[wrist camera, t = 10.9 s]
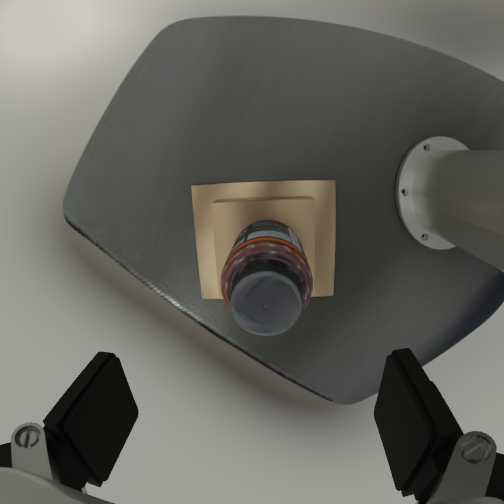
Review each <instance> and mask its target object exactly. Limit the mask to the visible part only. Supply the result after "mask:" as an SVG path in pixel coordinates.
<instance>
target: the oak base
mask: <svg viewBox="0 0 504 504" xmlns="http://www.w3.org/2000/svg"><path fill="white" fill-rule="evenodd" d="M192 200H193V212H194V224H195V235H196V246H197V256H198V265H199V274H200V283H201V292H202V299H223V296H222V293H221V286H220V285H221V274H222V270H223V267H224V265H225V262H226V260H227V258H228V256H229V254H230V252H231V249H232V247H233V245H234V243H235V241H236V239H237V237H238V236H239V234H240V233H241V232H242V231H243V230H244V229H245V228H246V227H247V226H249V225H250V224H252V223H254V222H257V221H260V220H275V221H279V222H281V223H283V224H285V225H287V226H288V227H289V228H290V229H291V230H292V231H293V232H294V233H295V234H296V236H297V237H298V239H299V241H300V243H302V248H303V251H304V253H305V256H306V258H307V261H308V264H309V266H310V270H311V273H312V278H313V290H312V295H311V297H316V296H333V289H334V268H335V232H336V185H335V180H285V181H256V182H235V183H218V184H203V185H193V186H192Z"/></svg>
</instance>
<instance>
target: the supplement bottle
mask: <svg viewBox="0 0 504 504" xmlns="http://www.w3.org/2000/svg"><path fill="white" fill-rule="evenodd" d="M220 286H221V293H222V296H223V299H224V302H225V304H226V305H227V307H228V308H229V310H230V311H231V313H232V315H233V318H234V319H235V321H236V322H237V323H238V324H239V326H241V327H242V328H243V329H244V330H246V331H248V332H249V333H252V334H255V335H259V336H273V335H278V334H281V333H283V332H285V331H286V330H288V329H289V328H291V327H292V326H293V325H294V324H295V323H296V321H297V320H298V318H299V316H300V314H301V313H302V312H303V311H304V309H305V308H306V307H307V305H308V303H309V300H310V298H311V295H312V290H313V278H312V273H311V270H310V266H309V264H308V261H307V258H306V256H305V253H304V251H303V248H302V243H300V241H299V239H298V237H297V236H296V234H295V233H294V232H293V231H292V230H291V229H290V228H289V227H288V226H287V225H285V224H283V223H281V222H279V221H275V220H260V221H257V222H254V223H252V224H250V225H249V226H247V227H246V228H245V229H244V230H243V231H242V232H241V233H240V234H239V236H238V237H237V239H236V241H235V243H234V245H233V247H232V249H231V252H230V254H229V256H228V258H227V260H226V262H225V265H224V267H223V270H222V274H221V285H220Z"/></svg>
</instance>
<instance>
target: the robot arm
mask: <svg viewBox="0 0 504 504" xmlns="http://www.w3.org/2000/svg"><path fill="white" fill-rule="evenodd" d="M423 147H425V150H424V148H423ZM402 189H403V191H404V192H403V193H402ZM395 197H396V206H397V209H398V213H399V216H400V219H401V221H402V223H403V225H404V227H405V228H406V230H407V231H408V233H409V234H410V235H411V236H412V237H413V238H414V239H415V240H417V241H418V242H420V243H421V244H423V245H425V246H427V247H429V248H432V249H437V250H447V249H451V248H454V247H456V246H457V247H459V248H461V249H463V250H465V251H466V252H468V253H470V254H472V255H474V256H476V257H477V258H479V259H481V260H483V261H485V262H486V263H488V264H490V265H492V266H493V267H495V268H497V269H498V270H500V271H502V272H503V273H504V151H500V150H469V149H468V148H467V147H466V146H465V145H464V144H463V143H461V142H459V141H457V140H456V139H453V138H449V137H444V136H436V137H430V138H427V139H424V140H422V141H420V142H419V143H417V144H416V145H414V146H413V147H412V148H411V149H410V150H409V151H408V153H407V154H406V156H405V157H404V159H403V161H402V163H401V165H400V168H399V170H398V174H397V179H396V187H395ZM422 235H423V236H422ZM137 418H138V407H137V405H136V403H135V400H134V398H133V395H132V392H131V390H130V387H129V384H128V382H127V379H126V377H125V373H124V371H123V368H122V365H121V362H120V359H119V358H117V357H116V356H115V354H114V353H107V352H98V353H97V354H96V355H95V357H94V358H93V359H92V360H91V361H90V363H89V364H88V365H87V366H86V368H85V369H84V370H83V371H82V372H81V373H80V375H79V376H78V377H77V378H76V380H75V381H74V382H73V383H72V385H71V386H70V387H69V388H68V389H67V391H66V392H65V393H64V395H63V396H62V397H61V398H60V399H59V401H58V402H57V403H56V405H55V406H54V407H53V408H52V410H51V411H50V412H49V414H48V415H47V416H46V418H45V419H44V420H43V422H44V424H45V426H44V427H43V428H42V427H41V426H40V425H39V424H37V423H32V422H31V423H25V424H22V425H20V426H19V427H17V429H15V430H14V432H13V434H12V437H11V442H10V443H6V444H2V445H0V504H114V503H111V502H108V501H104V500H102V499H99V498H96V497H93V496H90V495H88V494H87V491H86V488H85V484H86V483H87V482H88V483H89V484H92V485H95V486H98V487H101V485H102V483H103V481H106V480H107V479H108V477H109V475H110V473H111V471H112V469H113V467H114V465H115V463H116V461H117V459H118V457H119V454H120V452H121V450H122V448H123V446H124V444H125V442H126V440H127V438H128V436H129V434H130V432H131V430H132V428H133V426H134V423H135V422H136V420H137ZM374 418H375V421H376V424H377V427H378V431H379V434H380V437H381V440H382V443H383V446H384V449H385V453H386V456H387V459H388V463H389V466H390V470H391V473H392V477H393V480H394V484H395V487H396V489H397V490H398V491H400V490H401V491H402V495H403V497H405V496H408V495H412V494H414V496H415V499H416V500H417V502H416V504H504V455H503V454H500V453H497V452H496V450H497V449H496V448H497V447H496V444H495V442H494V440H493V439H492V438H491V437H490V436H489V435H487V434H486V433H483V432H479V431H472V432H468V433H466V434H463V432H462V430H461V428H460V426H459V424H458V423H457V421H456V419H455V417H454V416H453V414H452V412H451V411H450V409H449V407H448V405H447V404H446V402H445V400H444V399H443V397H442V395H441V393H440V392H439V390H438V389H437V387H436V385H435V384H434V383H433V382H432V381H430V380H429V378H428V377H427V375H426V373H425V372H424V370H423V368H422V367H421V365H420V364H419V362H418V361H417V359H416V357H415V356H414V354H413V353H412V351H411V350H410V349H409V348H405V349H398V350H393V351H392V353H391V355H388V356H387V359H386V363H385V368H384V372H383V377H382V381H381V385H380V389H379V393H378V397H377V401H376V405H375V409H374Z"/></svg>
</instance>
